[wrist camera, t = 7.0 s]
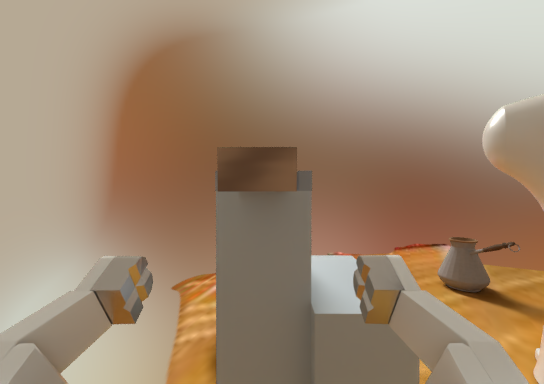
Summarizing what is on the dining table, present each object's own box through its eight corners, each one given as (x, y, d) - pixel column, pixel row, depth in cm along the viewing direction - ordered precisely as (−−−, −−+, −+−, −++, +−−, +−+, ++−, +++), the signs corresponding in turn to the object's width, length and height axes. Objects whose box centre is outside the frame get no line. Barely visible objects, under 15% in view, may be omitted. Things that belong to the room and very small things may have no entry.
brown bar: (283, 190, 37) (283, 172, 37) (296, 191, 15) (296, 147, 15) (251, 190, 37) (251, 172, 37) (217, 191, 15) (217, 147, 15)
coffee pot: (428, 279, 77) (428, 228, 77) (468, 279, 77) (468, 228, 76) (488, 313, 55) (488, 242, 55) (543, 314, 55) (543, 243, 55)
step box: (351, 359, 40) (351, 178, 40) (418, 509, 21) (420, 168, 21) (240, 358, 41) (240, 178, 40) (210, 506, 22) (209, 169, 21)
